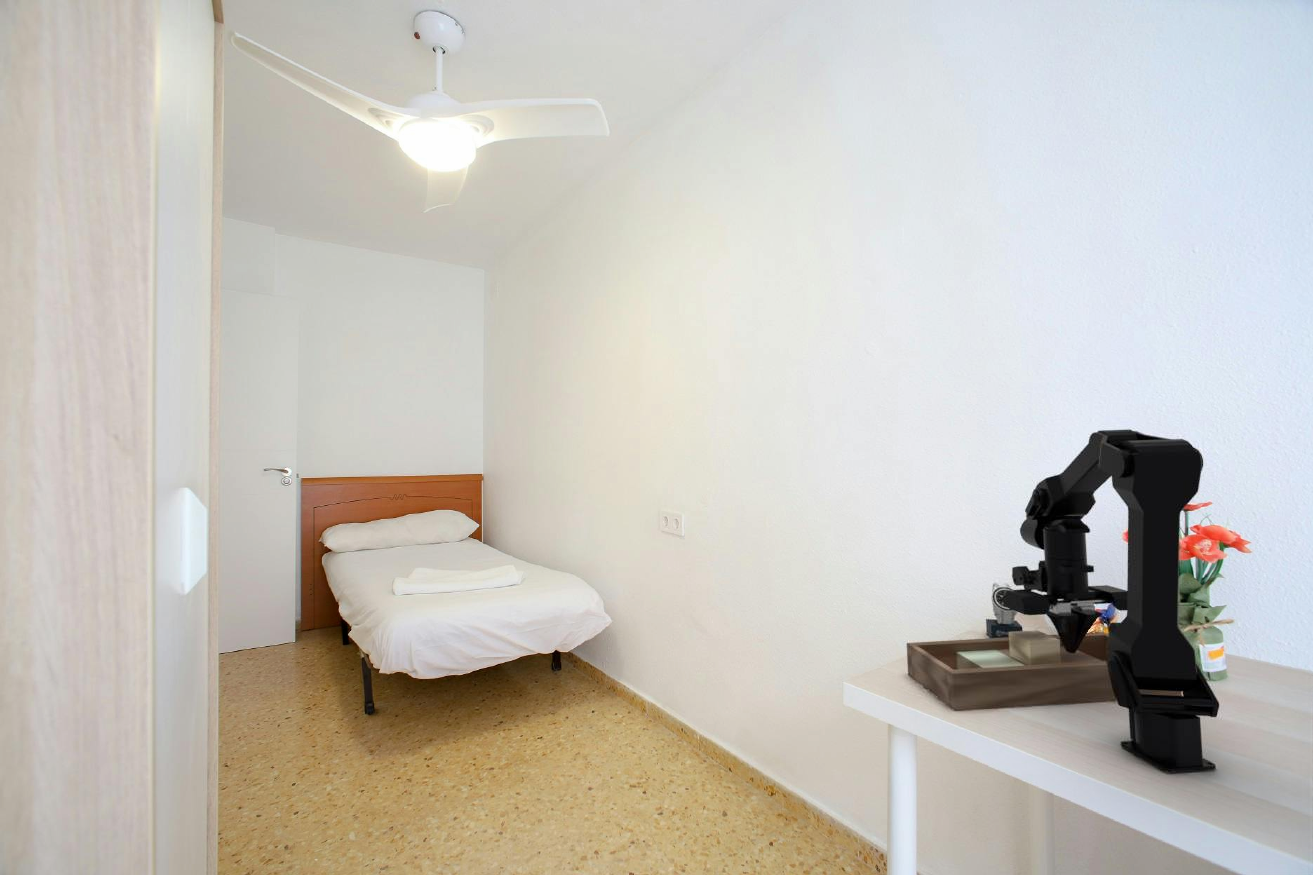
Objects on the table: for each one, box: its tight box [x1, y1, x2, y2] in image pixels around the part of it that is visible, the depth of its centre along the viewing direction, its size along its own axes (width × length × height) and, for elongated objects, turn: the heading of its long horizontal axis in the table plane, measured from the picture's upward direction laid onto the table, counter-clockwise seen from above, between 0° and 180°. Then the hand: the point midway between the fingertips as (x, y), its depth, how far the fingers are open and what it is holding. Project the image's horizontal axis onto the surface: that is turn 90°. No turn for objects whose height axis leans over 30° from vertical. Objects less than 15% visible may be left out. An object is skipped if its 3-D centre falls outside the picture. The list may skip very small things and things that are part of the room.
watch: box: [985, 582, 1024, 638], centre depth 116 cm, size 6×8×11 cm
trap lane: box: [906, 631, 1183, 712], centre depth 93 cm, size 14×36×6 cm, turn 93°
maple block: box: [1009, 629, 1061, 665], centre depth 93 cm, size 5×5×4 cm
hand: (1070, 652), depth 94 cm, fingers closed
